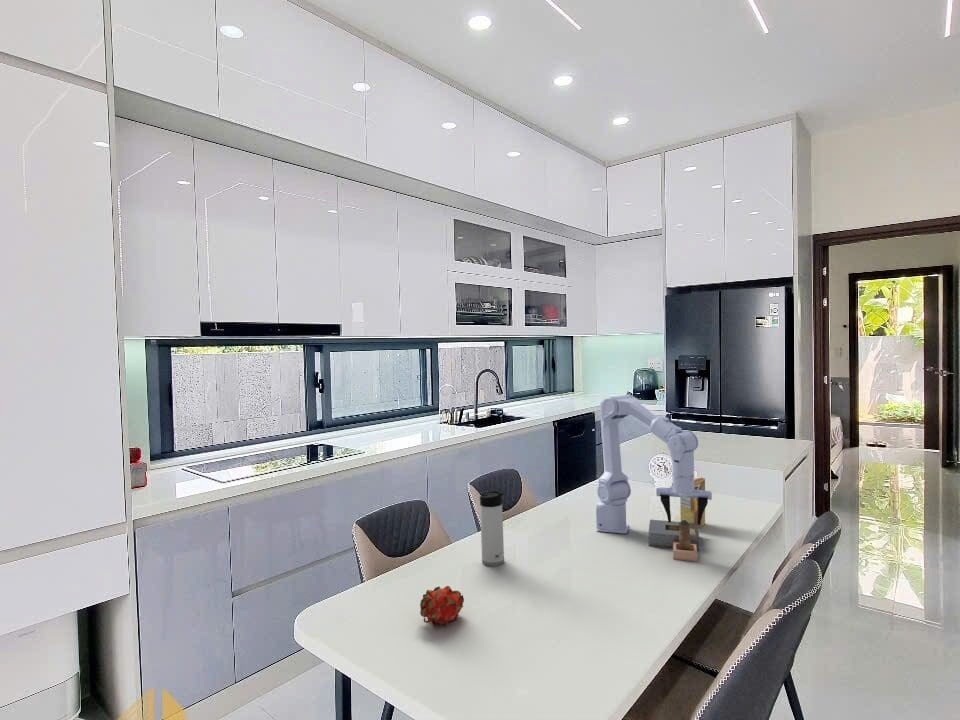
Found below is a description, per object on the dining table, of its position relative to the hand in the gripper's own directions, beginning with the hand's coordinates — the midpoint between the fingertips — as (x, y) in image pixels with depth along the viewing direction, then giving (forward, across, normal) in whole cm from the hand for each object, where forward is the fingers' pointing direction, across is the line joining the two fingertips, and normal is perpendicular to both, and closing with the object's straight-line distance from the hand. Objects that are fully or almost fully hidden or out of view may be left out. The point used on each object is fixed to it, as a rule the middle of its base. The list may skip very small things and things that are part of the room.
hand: (684, 522), depth 150 cm
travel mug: (+10, -51, -18) cm, 55 cm away
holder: (+10, 0, 0) cm, 10 cm away
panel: (+10, -3, +11) cm, 15 cm away
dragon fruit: (+10, -52, -51) cm, 73 cm away
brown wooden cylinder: (+9, 0, 0) cm, 9 cm away
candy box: (+10, +3, +26) cm, 28 cm away
